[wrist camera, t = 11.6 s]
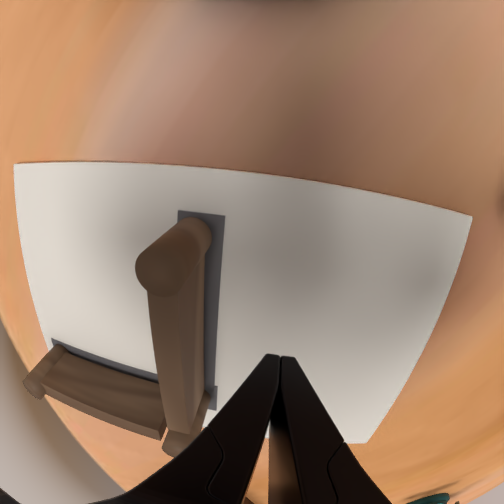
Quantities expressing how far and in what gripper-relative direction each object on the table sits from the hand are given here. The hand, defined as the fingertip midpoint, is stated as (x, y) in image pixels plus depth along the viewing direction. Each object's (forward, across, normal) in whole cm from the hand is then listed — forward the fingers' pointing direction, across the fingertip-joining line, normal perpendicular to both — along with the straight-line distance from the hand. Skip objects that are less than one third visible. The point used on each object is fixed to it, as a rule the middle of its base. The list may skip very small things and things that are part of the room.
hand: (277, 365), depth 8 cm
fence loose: (+6, +4, +3) cm, 8 cm away
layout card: (+6, +4, +5) cm, 9 cm away
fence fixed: (+6, +10, +10) cm, 15 cm away
